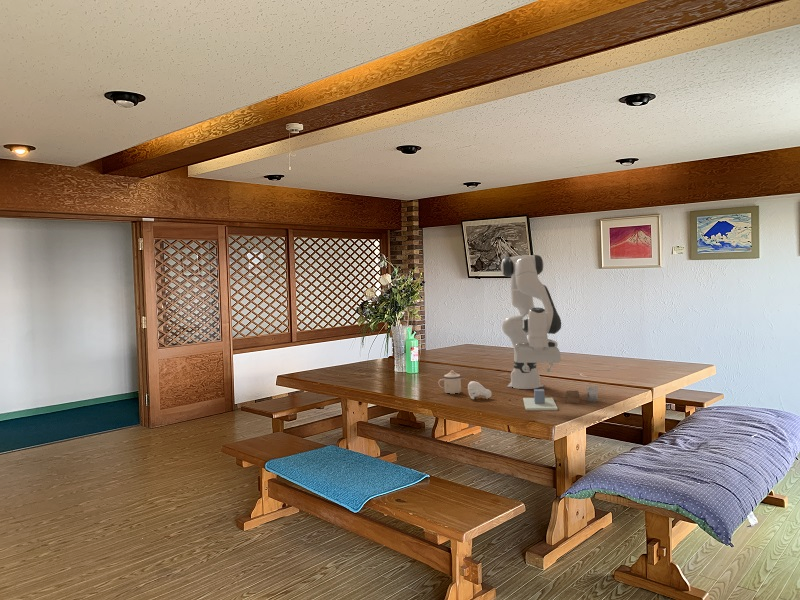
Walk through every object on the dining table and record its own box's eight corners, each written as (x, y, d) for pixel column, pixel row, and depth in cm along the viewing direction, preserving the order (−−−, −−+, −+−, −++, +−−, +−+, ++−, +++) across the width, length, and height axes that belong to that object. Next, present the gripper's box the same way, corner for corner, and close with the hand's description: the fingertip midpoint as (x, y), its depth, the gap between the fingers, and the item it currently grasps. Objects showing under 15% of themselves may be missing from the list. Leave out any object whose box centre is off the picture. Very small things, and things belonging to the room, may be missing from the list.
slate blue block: (534, 401, 282) (533, 389, 281) (544, 401, 281) (543, 389, 281) (535, 403, 277) (534, 391, 277) (544, 403, 276) (544, 391, 276)
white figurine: (469, 379, 302) (493, 382, 299) (468, 396, 303) (492, 399, 300) (467, 382, 296) (491, 384, 293) (466, 399, 297) (490, 401, 294)
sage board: (523, 399, 291) (523, 397, 291) (552, 399, 289) (552, 397, 289) (525, 410, 269) (525, 408, 269) (557, 410, 267) (557, 408, 267)
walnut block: (566, 401, 285) (566, 390, 285) (577, 400, 285) (577, 390, 285) (568, 403, 280) (568, 392, 280) (579, 403, 280) (579, 392, 280)
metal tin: (586, 400, 285) (585, 385, 285) (596, 400, 284) (596, 385, 284) (587, 402, 280) (587, 387, 280) (598, 402, 279) (598, 387, 279)
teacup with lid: (461, 390, 320) (460, 369, 319) (461, 394, 311) (461, 371, 310) (438, 391, 320) (437, 369, 320) (438, 394, 311) (438, 372, 311)
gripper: (515, 343, 276) (516, 373, 277) (560, 343, 273) (561, 373, 274) (515, 341, 283) (515, 370, 283) (559, 341, 279) (559, 370, 280)
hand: (538, 372), depth 279 cm, fingers open, 8 cm apart
